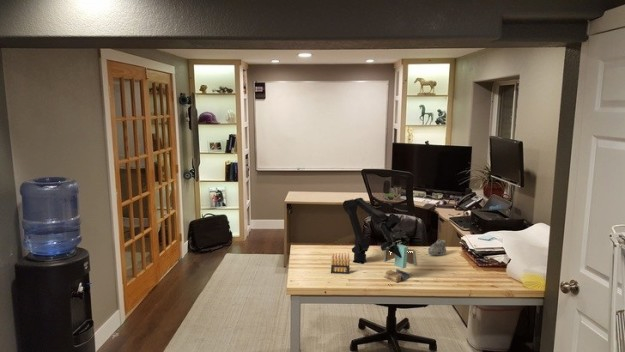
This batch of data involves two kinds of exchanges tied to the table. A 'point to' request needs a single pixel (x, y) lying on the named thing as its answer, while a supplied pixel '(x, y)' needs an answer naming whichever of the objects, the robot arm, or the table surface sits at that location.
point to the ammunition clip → (339, 267)
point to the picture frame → (388, 257)
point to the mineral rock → (438, 248)
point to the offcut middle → (392, 276)
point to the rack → (404, 275)
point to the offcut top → (394, 274)
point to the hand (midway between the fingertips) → (403, 256)
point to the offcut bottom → (393, 279)
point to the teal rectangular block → (403, 260)
